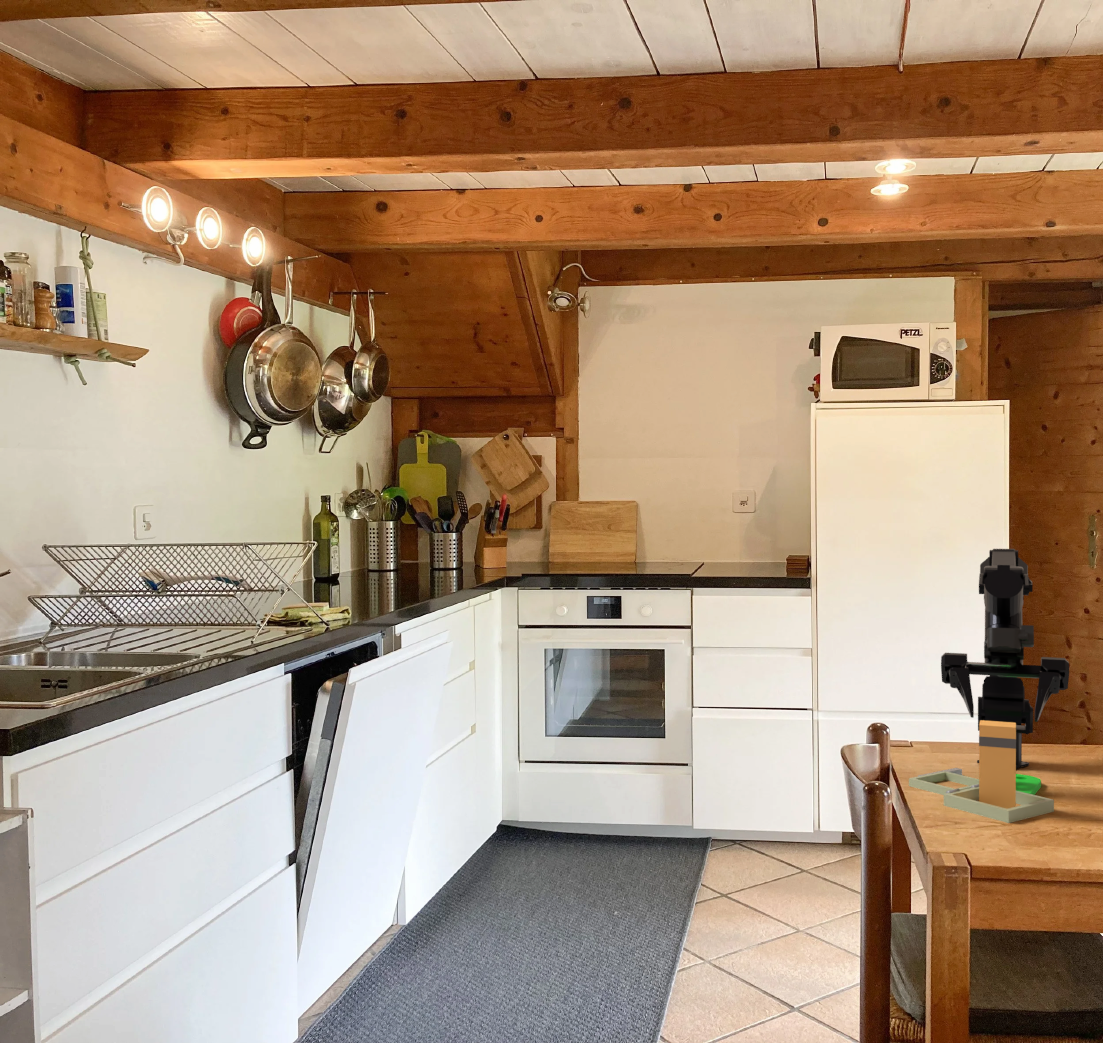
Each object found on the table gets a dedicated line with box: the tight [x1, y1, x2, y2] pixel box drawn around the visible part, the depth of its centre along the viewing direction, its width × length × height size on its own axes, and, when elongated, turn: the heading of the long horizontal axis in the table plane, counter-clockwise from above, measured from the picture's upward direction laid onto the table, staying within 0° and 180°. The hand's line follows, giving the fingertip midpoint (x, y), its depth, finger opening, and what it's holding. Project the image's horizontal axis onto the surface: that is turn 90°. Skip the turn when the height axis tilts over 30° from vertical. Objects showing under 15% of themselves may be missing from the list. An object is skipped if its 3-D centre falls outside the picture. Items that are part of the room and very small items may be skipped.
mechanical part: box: [1016, 773, 1042, 795], centre depth 173 cm, size 12×6×8 cm, turn 147°
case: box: [943, 784, 1055, 824], centre depth 162 cm, size 11×12×3 cm
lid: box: [908, 771, 979, 796], centre depth 174 cm, size 9×9×2 cm
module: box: [978, 720, 1017, 809], centre depth 161 cm, size 4×5×13 cm
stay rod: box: [917, 767, 963, 777], centre depth 183 cm, size 10×1×1 cm, turn 123°
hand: (1003, 718), depth 168 cm, fingers open, 9 cm apart
